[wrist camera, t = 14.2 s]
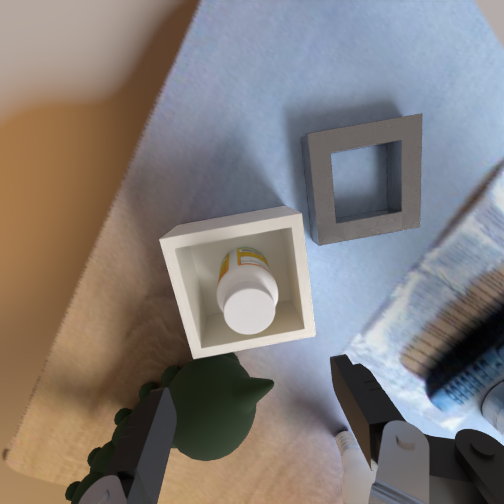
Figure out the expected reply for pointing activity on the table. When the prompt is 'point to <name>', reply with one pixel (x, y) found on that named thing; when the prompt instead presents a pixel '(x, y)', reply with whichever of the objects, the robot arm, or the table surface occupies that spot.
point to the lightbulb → (354, 471)
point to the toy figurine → (193, 413)
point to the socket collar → (398, 178)
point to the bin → (208, 268)
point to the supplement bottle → (246, 291)
